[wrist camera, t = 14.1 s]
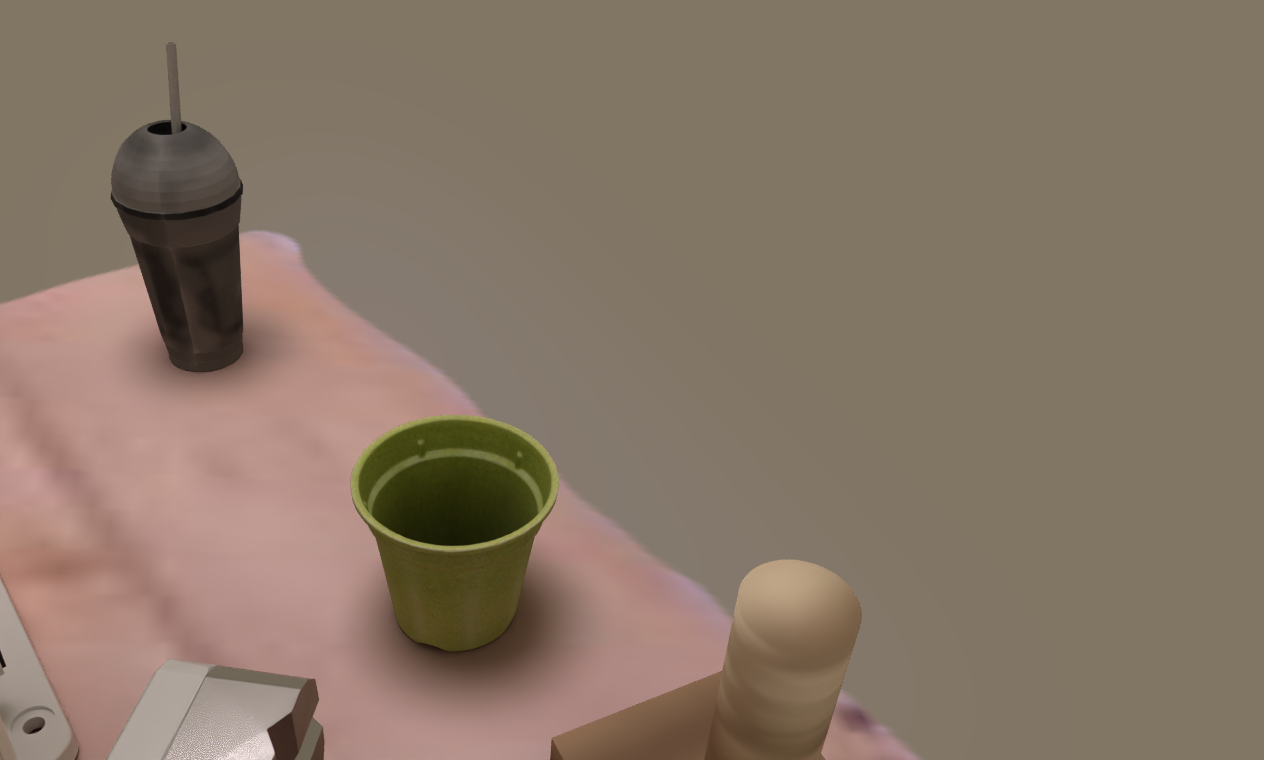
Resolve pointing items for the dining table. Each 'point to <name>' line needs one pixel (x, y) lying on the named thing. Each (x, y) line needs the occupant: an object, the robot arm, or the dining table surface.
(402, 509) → the plant pot
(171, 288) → the beverage cup
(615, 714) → the brown wooden frame
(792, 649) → the peg
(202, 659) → the dining table surface
